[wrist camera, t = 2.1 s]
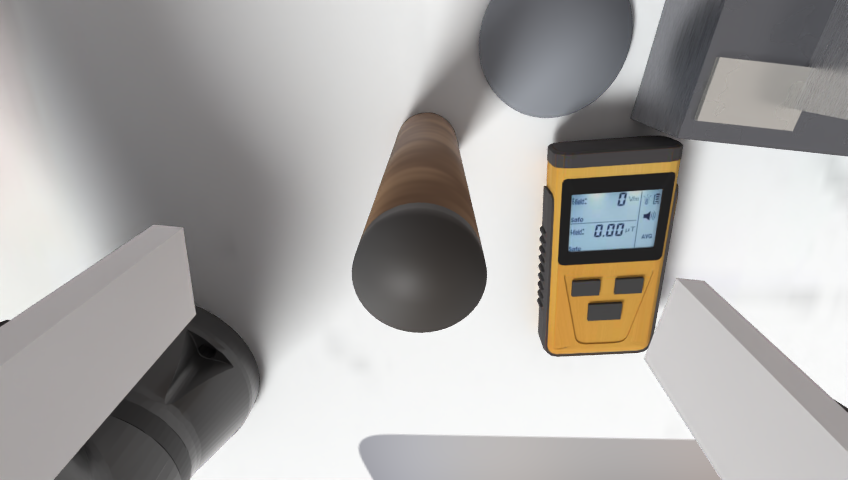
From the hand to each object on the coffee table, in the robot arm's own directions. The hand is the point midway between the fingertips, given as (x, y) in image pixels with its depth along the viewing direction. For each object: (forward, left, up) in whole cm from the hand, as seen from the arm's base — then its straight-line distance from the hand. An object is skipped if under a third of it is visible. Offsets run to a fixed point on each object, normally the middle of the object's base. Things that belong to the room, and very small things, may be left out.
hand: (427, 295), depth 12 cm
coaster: (+7, +7, -19) cm, 21 cm away
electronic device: (+14, -13, -21) cm, 28 cm away
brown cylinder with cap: (0, 0, -19) cm, 19 cm away
